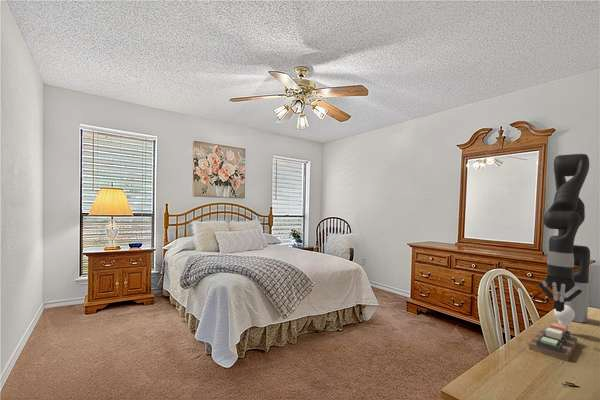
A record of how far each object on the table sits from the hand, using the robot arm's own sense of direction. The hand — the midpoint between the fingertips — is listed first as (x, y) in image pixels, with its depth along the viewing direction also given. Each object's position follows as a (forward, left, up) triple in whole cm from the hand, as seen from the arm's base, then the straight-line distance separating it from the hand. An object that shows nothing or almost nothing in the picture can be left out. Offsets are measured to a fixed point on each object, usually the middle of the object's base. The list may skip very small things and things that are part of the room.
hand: (558, 311), depth 113 cm
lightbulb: (-12, 0, -11) cm, 16 cm away
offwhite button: (+8, 0, -7) cm, 11 cm away
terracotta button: (0, 0, -7) cm, 7 cm away
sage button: (+16, 0, -9) cm, 18 cm away
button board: (+8, 0, -11) cm, 13 cm away
